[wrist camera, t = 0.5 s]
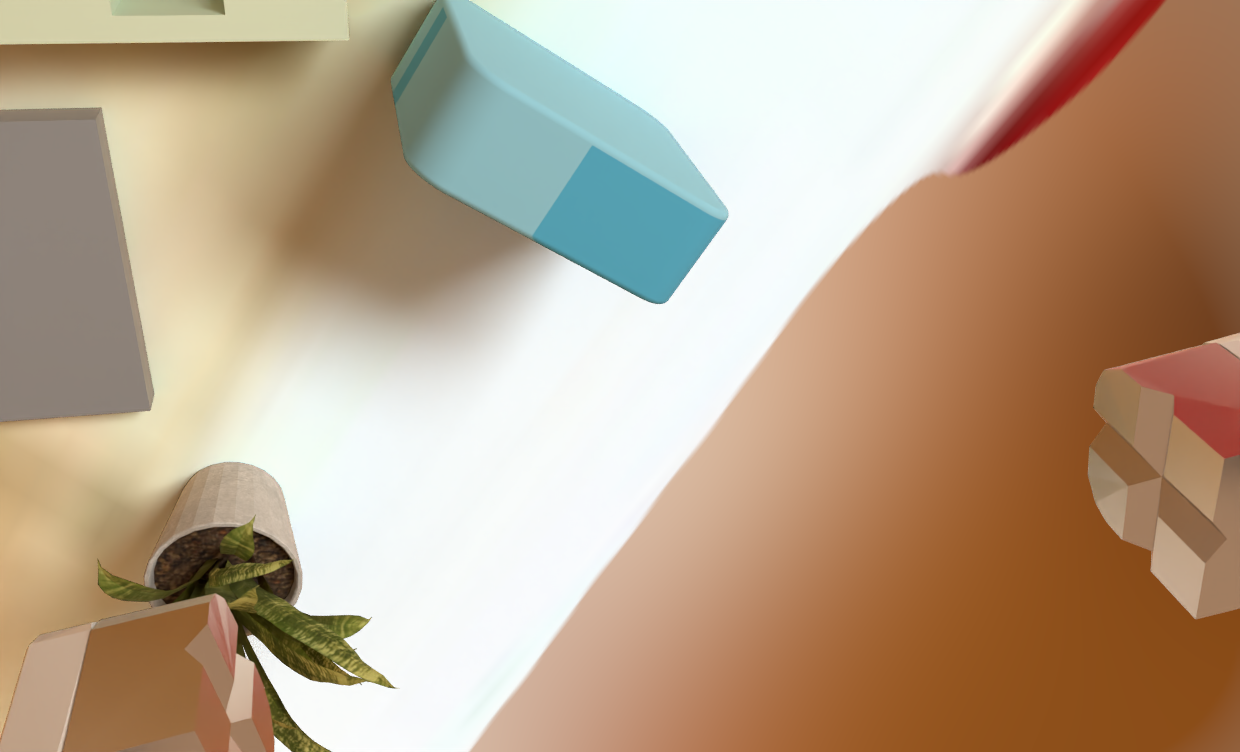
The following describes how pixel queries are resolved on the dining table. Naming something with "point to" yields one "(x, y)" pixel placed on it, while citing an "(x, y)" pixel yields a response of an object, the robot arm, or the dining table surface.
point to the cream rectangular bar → (171, 21)
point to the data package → (550, 152)
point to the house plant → (248, 582)
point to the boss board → (65, 273)
